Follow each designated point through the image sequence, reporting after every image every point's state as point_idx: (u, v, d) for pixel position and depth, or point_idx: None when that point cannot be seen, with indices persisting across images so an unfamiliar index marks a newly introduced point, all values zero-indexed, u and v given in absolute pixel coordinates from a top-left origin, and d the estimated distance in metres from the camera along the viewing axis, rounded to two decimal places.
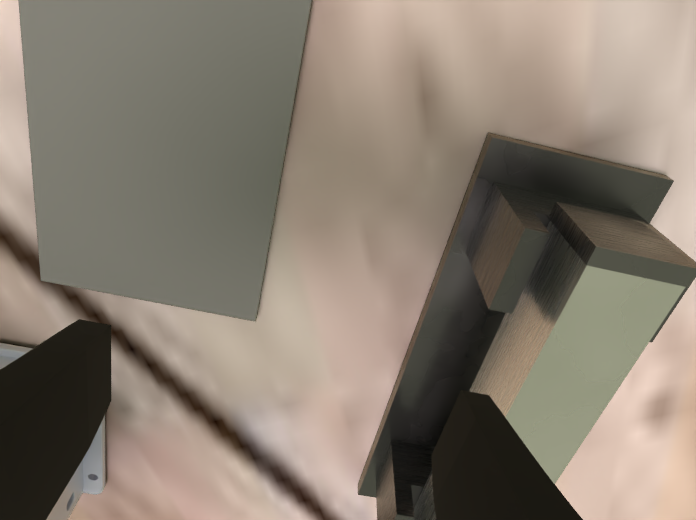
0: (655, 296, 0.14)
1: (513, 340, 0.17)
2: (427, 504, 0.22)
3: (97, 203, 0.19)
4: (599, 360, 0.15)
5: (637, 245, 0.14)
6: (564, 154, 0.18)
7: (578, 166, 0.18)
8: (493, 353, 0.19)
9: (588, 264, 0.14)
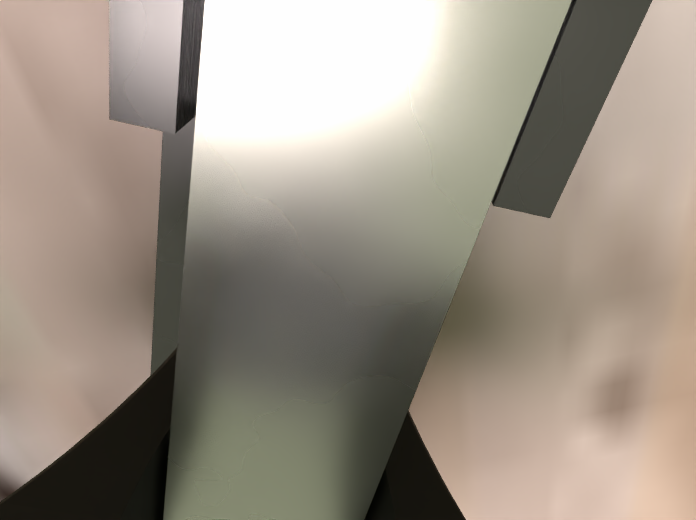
0: None
1: None
2: None
3: None
4: (370, 237, 0.05)
5: None
6: None
7: None
8: None
9: None
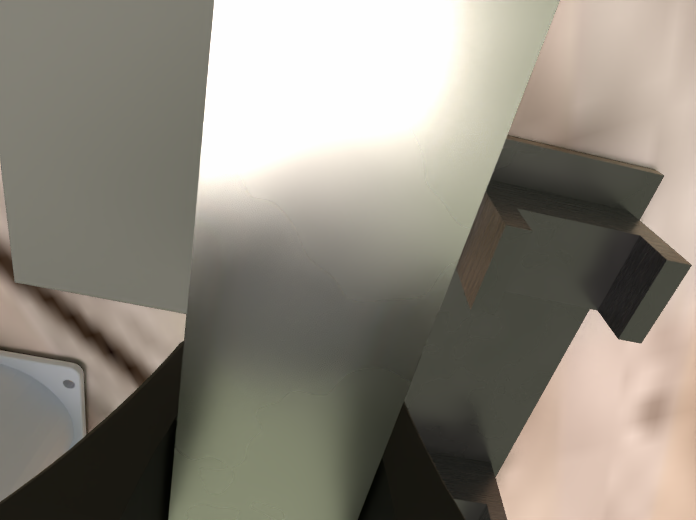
0: None
1: None
2: None
3: (69, 202, 0.19)
4: (367, 236, 0.06)
5: None
6: (550, 148, 0.17)
7: (564, 161, 0.17)
8: None
9: None
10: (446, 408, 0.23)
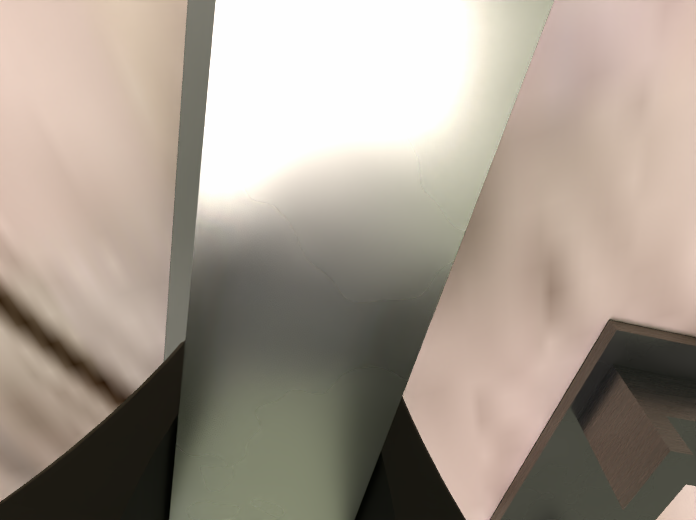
0: (479, 8, 0.05)
1: None
2: None
3: None
4: (364, 238, 0.06)
5: None
6: (684, 343, 0.19)
7: None
8: None
9: None
10: None
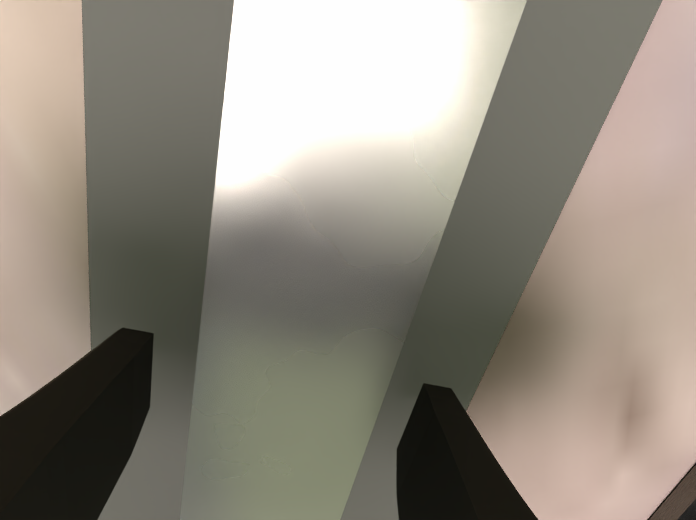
0: (464, 1, 0.05)
1: None
2: None
3: (177, 519, 0.15)
4: (364, 208, 0.06)
5: None
6: None
7: None
8: None
9: None
10: None
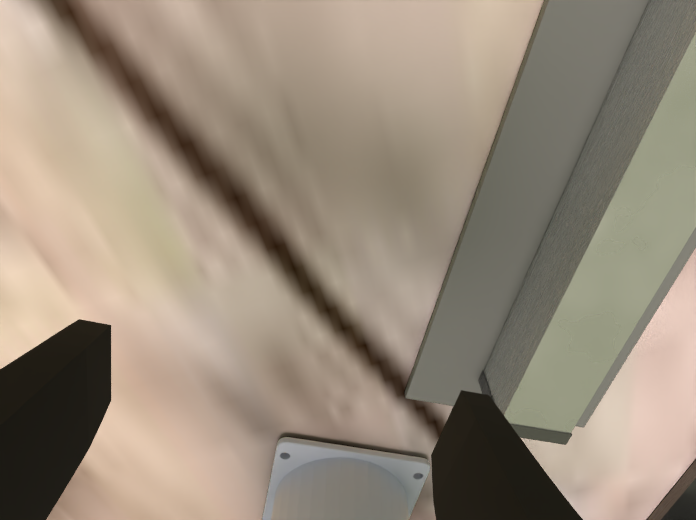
0: None
1: (630, 92, 0.16)
2: (513, 331, 0.21)
3: (481, 338, 0.22)
4: None
5: None
6: None
7: None
8: (598, 128, 0.17)
9: None
10: None
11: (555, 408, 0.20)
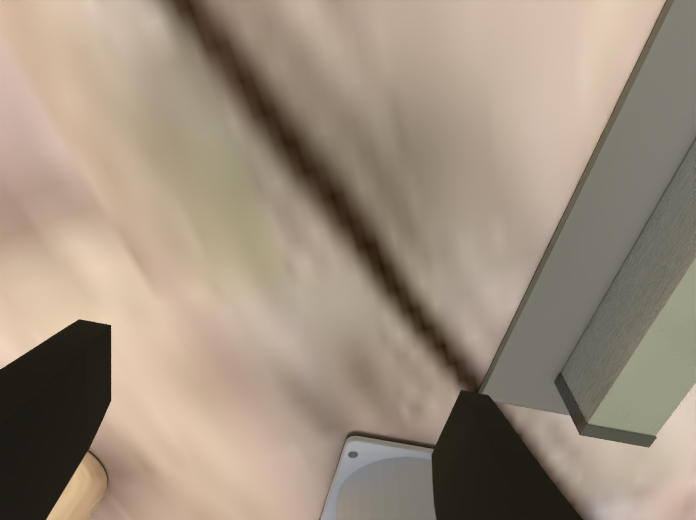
0: None
1: None
2: (600, 334, 0.21)
3: (562, 341, 0.22)
4: None
5: None
6: None
7: None
8: None
9: None
10: None
11: (644, 411, 0.20)
